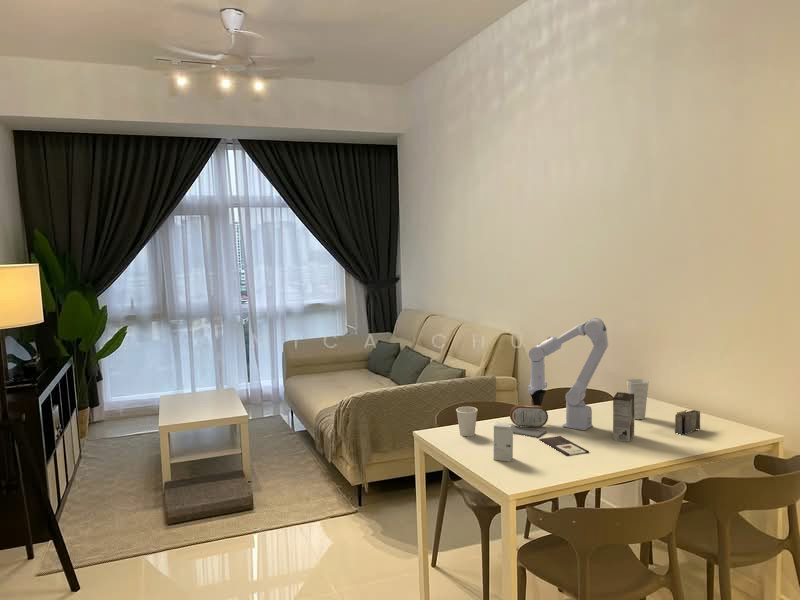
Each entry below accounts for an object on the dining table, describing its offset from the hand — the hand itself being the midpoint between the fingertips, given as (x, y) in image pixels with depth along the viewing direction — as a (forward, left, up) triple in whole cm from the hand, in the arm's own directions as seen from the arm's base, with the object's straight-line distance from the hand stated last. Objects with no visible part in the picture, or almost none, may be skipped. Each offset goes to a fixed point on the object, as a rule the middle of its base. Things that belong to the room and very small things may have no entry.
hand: (537, 407), depth 246 cm
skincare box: (-8, +45, -6) cm, 47 cm away
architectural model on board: (-53, -19, -7) cm, 57 cm away
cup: (-32, -27, -6) cm, 42 cm away
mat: (0, +15, -6) cm, 16 cm away
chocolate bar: (-20, +22, -7) cm, 31 cm away
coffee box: (-35, +1, -6) cm, 36 cm away
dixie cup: (+16, +29, -6) cm, 34 cm away
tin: (0, +8, -6) cm, 10 cm away
